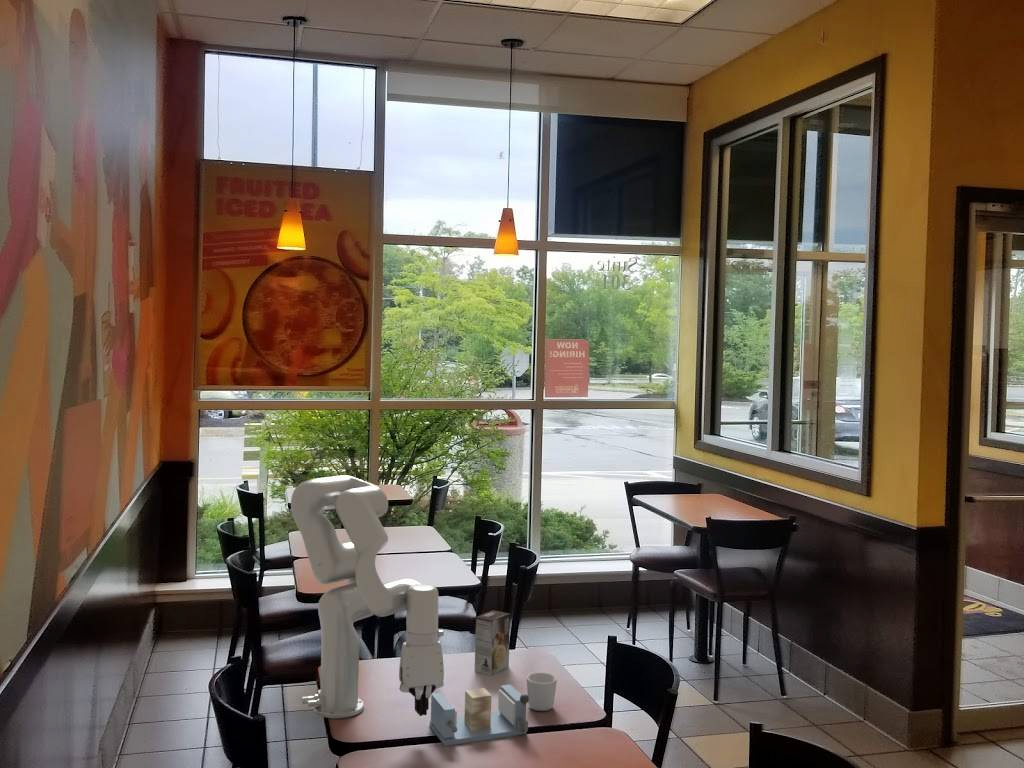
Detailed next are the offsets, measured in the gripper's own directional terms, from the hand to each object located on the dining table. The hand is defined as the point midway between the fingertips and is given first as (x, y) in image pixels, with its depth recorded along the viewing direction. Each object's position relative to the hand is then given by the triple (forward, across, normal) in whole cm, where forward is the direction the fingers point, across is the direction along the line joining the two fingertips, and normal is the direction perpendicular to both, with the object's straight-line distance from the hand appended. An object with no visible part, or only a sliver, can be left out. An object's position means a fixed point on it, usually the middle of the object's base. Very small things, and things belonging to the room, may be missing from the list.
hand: (421, 713), depth 216 cm
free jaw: (+5, -6, +1) cm, 8 cm away
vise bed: (+6, -15, 0) cm, 16 cm away
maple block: (+5, -14, -1) cm, 15 cm away
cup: (+7, -35, -10) cm, 37 cm away
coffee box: (+6, -33, -39) cm, 51 cm away
